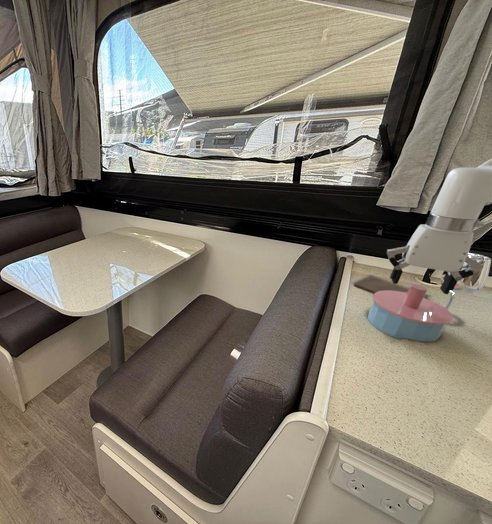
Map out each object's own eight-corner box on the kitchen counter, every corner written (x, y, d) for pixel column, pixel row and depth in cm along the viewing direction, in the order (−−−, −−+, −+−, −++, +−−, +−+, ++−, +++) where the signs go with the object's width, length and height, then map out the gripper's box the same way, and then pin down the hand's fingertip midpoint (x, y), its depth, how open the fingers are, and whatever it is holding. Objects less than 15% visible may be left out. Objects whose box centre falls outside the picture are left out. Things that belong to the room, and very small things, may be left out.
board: (426, 298, 89) (427, 295, 88) (410, 307, 84) (411, 305, 83) (371, 278, 102) (371, 276, 101) (353, 285, 97) (354, 283, 96)
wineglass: (459, 331, 73) (498, 265, 65) (420, 318, 78) (451, 255, 70) (461, 320, 77) (498, 256, 69) (424, 308, 83) (454, 248, 75)
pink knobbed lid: (461, 315, 70) (474, 293, 67) (435, 334, 63) (448, 310, 60) (388, 289, 83) (396, 269, 80) (360, 302, 76) (368, 281, 73)
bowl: (446, 333, 72) (458, 313, 70) (422, 351, 66) (434, 330, 64) (382, 306, 84) (390, 288, 82) (357, 320, 78) (364, 301, 76)
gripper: (496, 225, 62) (459, 289, 69) (397, 215, 70) (374, 273, 77) (513, 233, 56) (471, 303, 63) (404, 221, 64) (378, 283, 71)
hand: (418, 286), depth 70 cm, fingers open, 9 cm apart
